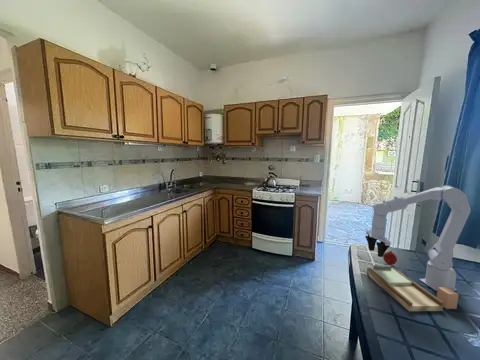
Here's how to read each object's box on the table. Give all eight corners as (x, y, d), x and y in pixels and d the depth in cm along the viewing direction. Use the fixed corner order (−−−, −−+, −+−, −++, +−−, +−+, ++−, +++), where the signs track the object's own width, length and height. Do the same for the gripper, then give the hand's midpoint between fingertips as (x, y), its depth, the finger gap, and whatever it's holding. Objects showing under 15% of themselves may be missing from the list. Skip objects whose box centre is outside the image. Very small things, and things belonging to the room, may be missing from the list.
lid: (391, 270, 100) (392, 265, 100) (411, 285, 89) (412, 278, 89) (370, 270, 100) (371, 265, 99) (387, 285, 89) (388, 279, 88)
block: (445, 301, 83) (447, 287, 82) (456, 308, 79) (458, 294, 78) (435, 301, 83) (438, 287, 82) (446, 308, 79) (448, 294, 78)
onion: (398, 268, 106) (400, 253, 105) (385, 267, 107) (387, 252, 106) (392, 263, 112) (394, 248, 111) (380, 261, 113) (382, 247, 112)
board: (392, 273, 101) (393, 267, 101) (442, 310, 77) (444, 302, 77) (366, 273, 101) (367, 267, 100) (408, 311, 77) (410, 303, 76)
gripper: (361, 221, 109) (359, 246, 111) (381, 232, 95) (378, 260, 96) (374, 222, 109) (371, 246, 111) (396, 232, 95) (393, 260, 97)
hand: (375, 253), depth 104 cm, fingers open, 6 cm apart
